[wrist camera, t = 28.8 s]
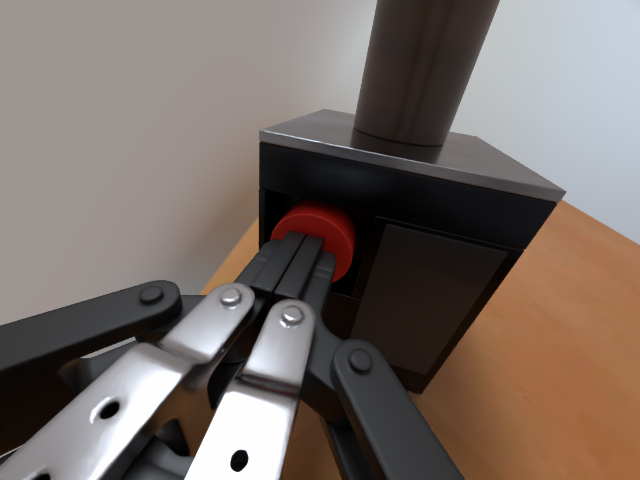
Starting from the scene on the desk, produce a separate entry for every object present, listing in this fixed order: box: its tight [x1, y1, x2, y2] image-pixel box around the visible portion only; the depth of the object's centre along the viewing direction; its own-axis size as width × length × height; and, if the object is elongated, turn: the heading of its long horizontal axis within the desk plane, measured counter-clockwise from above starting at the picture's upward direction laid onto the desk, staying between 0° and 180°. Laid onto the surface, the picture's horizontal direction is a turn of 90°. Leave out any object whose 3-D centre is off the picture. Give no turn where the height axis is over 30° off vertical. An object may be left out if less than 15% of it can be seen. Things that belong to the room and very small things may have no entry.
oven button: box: [271, 199, 357, 283], centre depth 11 cm, size 2×4×4 cm, turn 76°
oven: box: [259, 109, 566, 394], centre depth 16 cm, size 10×10×12 cm
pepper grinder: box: [353, 0, 500, 146], centre depth 10 cm, size 4×4×8 cm
